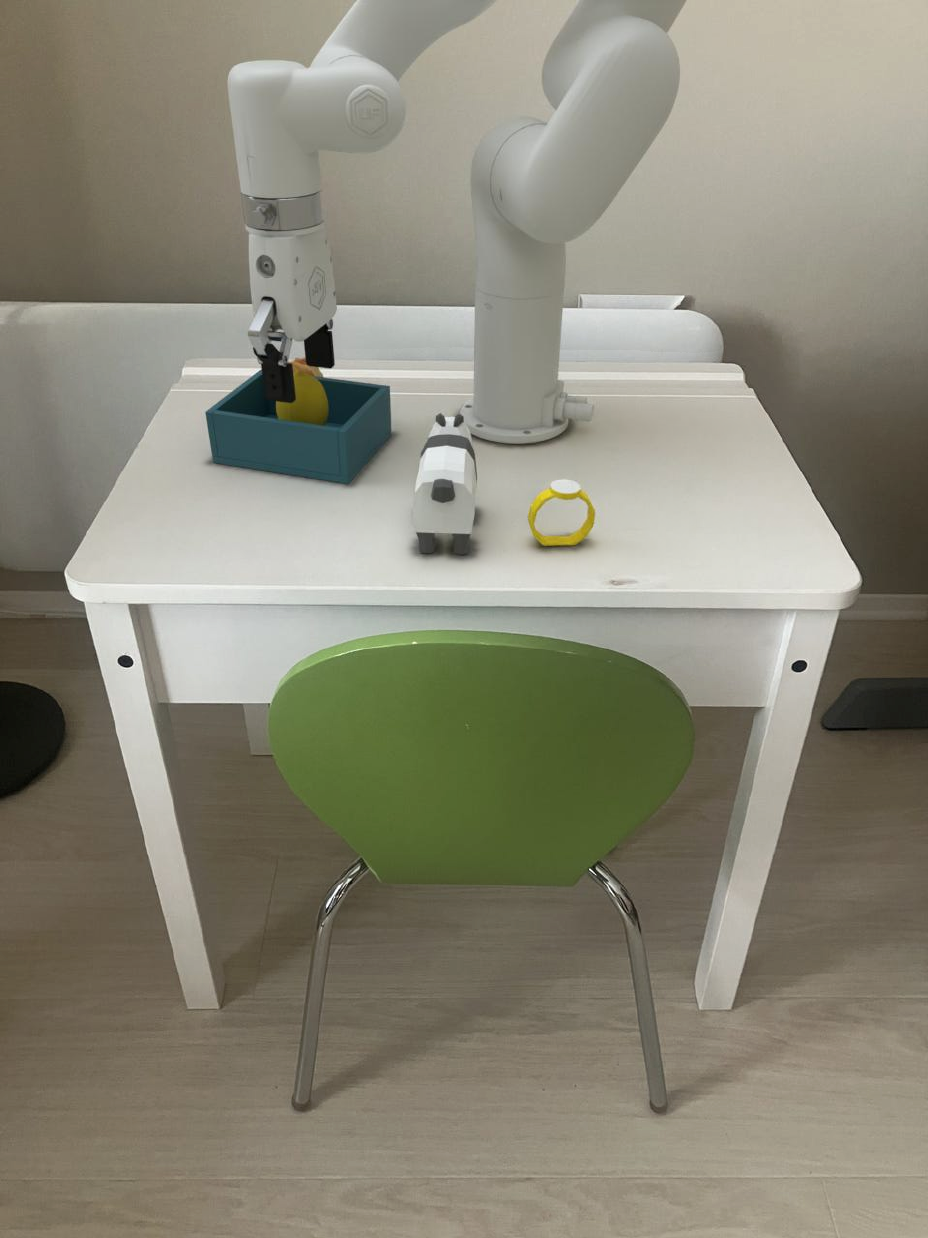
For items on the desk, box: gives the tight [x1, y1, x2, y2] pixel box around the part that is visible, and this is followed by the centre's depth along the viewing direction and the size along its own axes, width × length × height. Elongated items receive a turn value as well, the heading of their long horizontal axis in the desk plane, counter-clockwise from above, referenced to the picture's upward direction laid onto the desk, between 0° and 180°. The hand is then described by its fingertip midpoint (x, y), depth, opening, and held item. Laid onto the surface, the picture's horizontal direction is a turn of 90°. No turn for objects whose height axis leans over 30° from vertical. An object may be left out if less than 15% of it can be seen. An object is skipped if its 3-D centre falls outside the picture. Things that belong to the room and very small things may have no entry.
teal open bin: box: [204, 369, 393, 485], centre depth 105 cm, size 16×13×6 cm
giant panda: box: [411, 412, 478, 556], centre depth 91 cm, size 15×6×10 cm, turn 177°
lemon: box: [276, 370, 329, 426], centre depth 104 cm, size 6×6×8 cm
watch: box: [527, 478, 596, 547], centre depth 89 cm, size 6×3×6 cm, turn 98°
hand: (301, 382), depth 102 cm, fingers open, 9 cm apart
